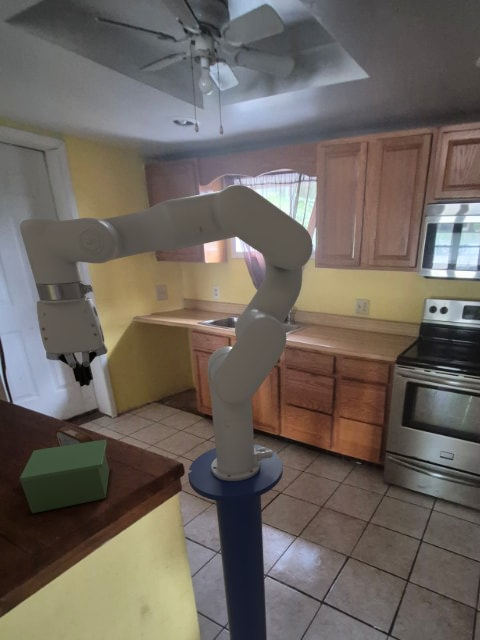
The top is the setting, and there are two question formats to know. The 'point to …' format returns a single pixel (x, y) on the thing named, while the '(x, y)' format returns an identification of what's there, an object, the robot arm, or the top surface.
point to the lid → (64, 460)
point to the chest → (67, 489)
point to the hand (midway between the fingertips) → (85, 383)
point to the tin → (71, 436)
